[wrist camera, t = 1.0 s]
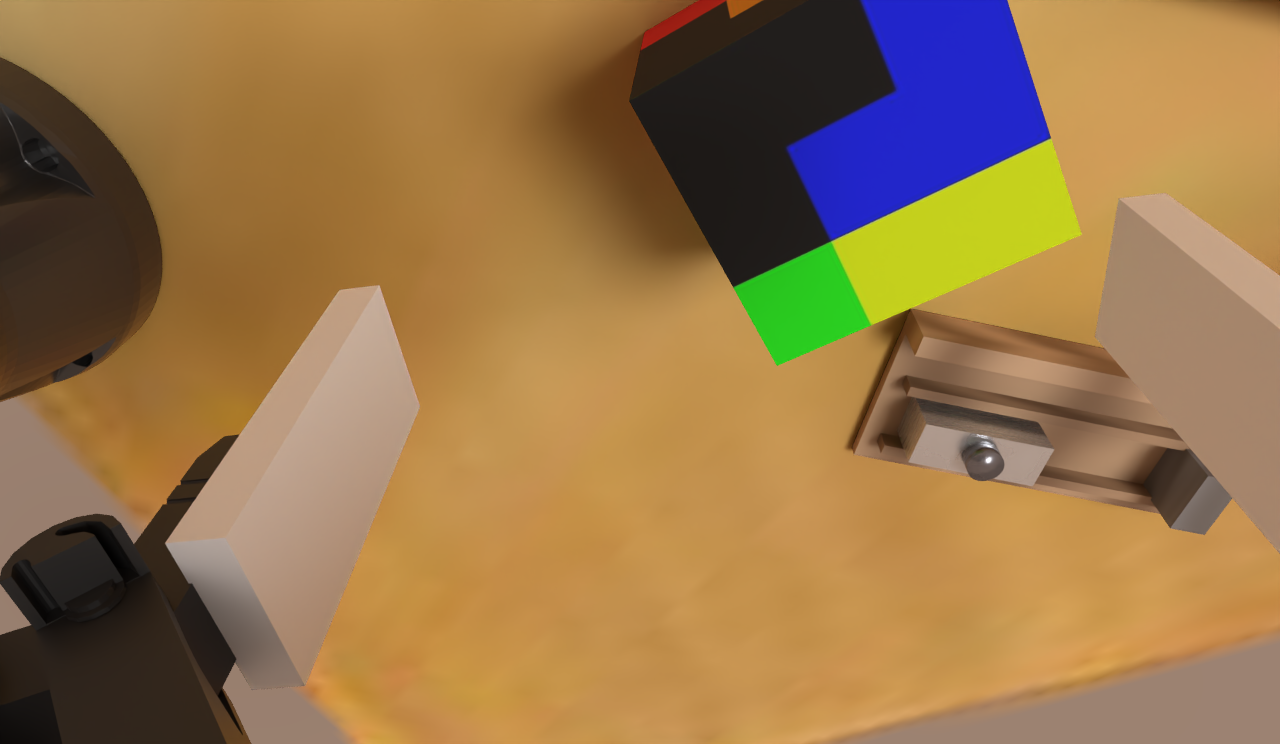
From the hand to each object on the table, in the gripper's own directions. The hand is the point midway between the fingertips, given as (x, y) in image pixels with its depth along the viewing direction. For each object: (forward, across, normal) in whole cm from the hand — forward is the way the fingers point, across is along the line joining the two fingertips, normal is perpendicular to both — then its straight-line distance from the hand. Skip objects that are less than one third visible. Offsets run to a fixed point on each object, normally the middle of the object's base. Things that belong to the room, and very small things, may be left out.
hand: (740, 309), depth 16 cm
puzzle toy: (+21, +5, -2) cm, 21 cm away
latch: (+20, +11, -18) cm, 29 cm away
